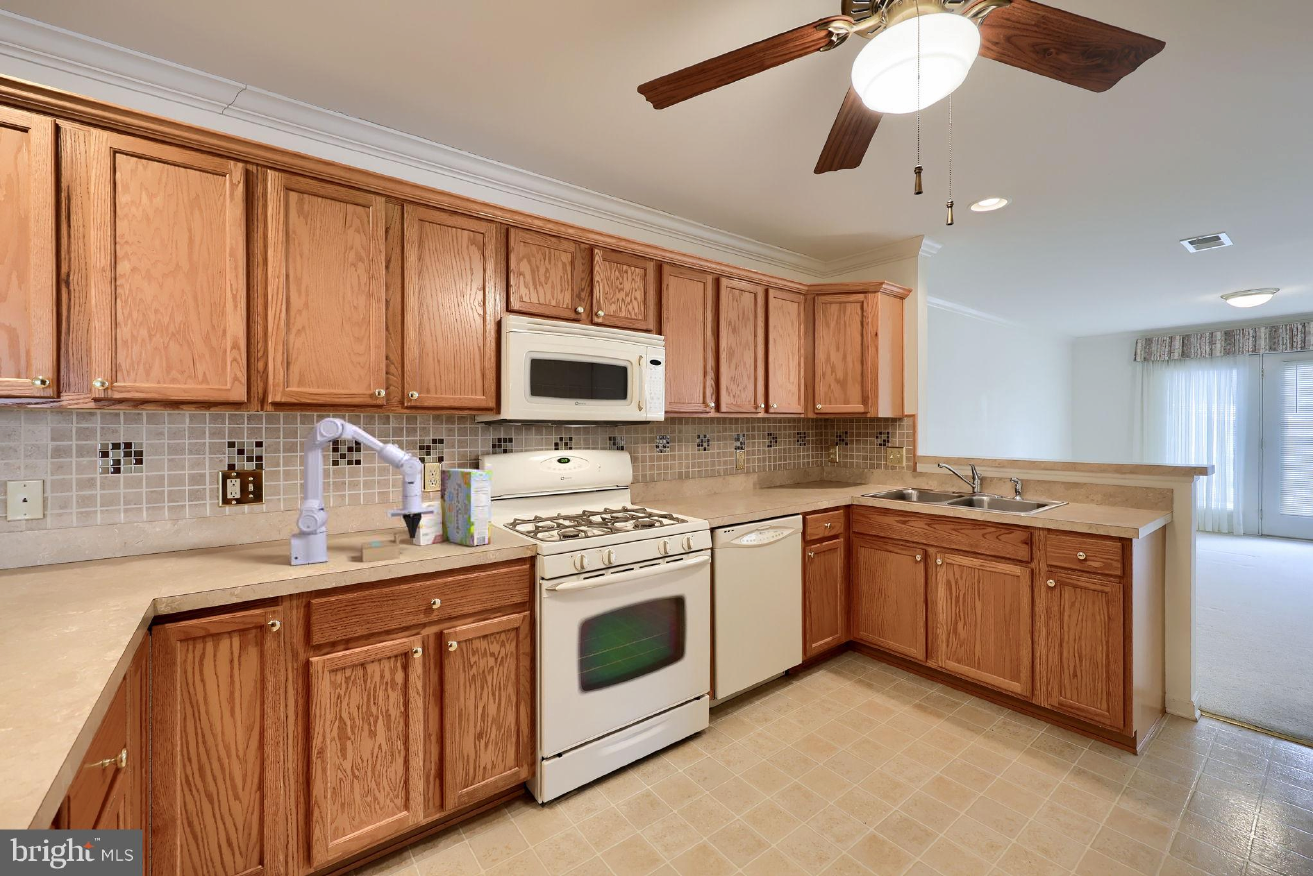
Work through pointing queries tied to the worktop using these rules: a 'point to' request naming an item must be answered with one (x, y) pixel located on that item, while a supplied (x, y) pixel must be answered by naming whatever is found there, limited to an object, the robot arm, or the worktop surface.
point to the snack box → (466, 506)
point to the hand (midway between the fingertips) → (412, 537)
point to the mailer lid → (382, 543)
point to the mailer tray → (380, 553)
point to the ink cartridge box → (429, 526)
